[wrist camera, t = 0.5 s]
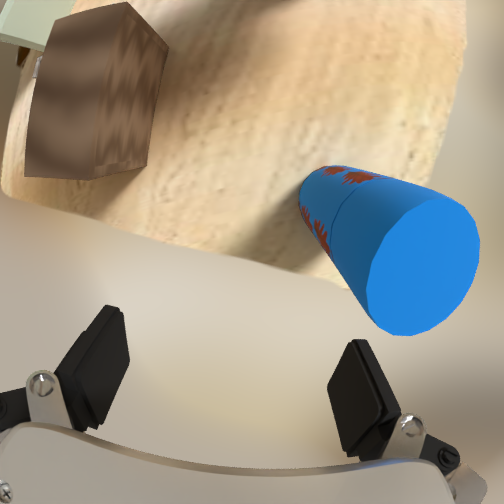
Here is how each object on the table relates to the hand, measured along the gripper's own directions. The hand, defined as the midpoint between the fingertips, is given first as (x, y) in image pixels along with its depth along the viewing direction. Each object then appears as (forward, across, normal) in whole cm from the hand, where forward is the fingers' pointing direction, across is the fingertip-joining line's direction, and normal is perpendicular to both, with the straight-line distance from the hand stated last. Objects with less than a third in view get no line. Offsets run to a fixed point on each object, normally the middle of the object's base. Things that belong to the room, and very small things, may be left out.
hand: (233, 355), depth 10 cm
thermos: (+31, -13, -2) cm, 33 cm away
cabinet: (+31, +26, -13) cm, 42 cm away
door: (+31, +40, -33) cm, 60 cm away
